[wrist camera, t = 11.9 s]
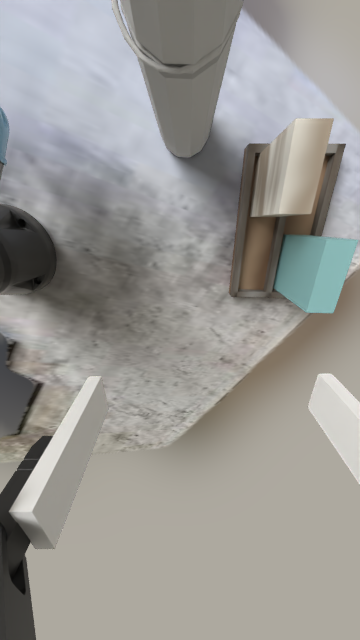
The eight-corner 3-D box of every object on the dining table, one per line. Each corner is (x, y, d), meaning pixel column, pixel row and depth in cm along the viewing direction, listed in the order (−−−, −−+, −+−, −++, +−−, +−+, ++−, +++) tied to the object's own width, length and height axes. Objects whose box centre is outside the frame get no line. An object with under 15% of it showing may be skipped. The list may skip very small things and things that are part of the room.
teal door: (272, 287, 39) (306, 312, 28) (283, 234, 35) (327, 239, 24) (292, 287, 39) (333, 313, 28) (305, 234, 35) (358, 239, 24)
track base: (228, 292, 40) (246, 321, 29) (244, 149, 31) (279, 104, 20) (298, 294, 40) (343, 323, 28) (334, 149, 31) (424, 104, 19)
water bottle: (222, 129, 31) (324, -146, 8) (181, 173, 33) (168, 61, 10) (179, 63, 28) (144, -641, 5) (138, 116, 30) (-9, -209, 8)
